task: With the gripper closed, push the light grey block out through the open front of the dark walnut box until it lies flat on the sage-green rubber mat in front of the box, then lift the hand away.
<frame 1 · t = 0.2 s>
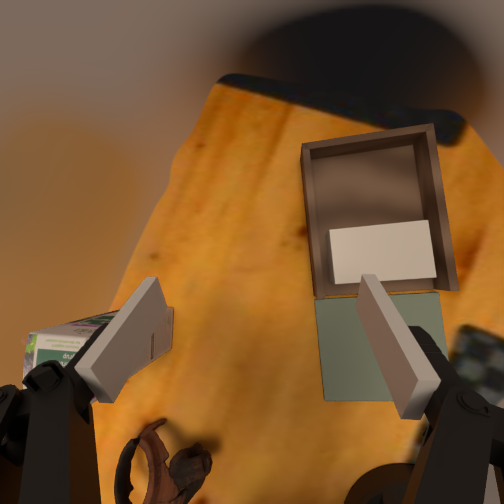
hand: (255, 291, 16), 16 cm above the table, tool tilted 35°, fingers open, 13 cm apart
light grey block: (371, 254, 28), point 1 cm above the table, touching walnut box
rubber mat: (379, 346, 28), on the table
syrup box: (155, 326, 33), on the table
walnut box: (363, 219, 30), on the table
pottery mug: (181, 449, 31), on the table
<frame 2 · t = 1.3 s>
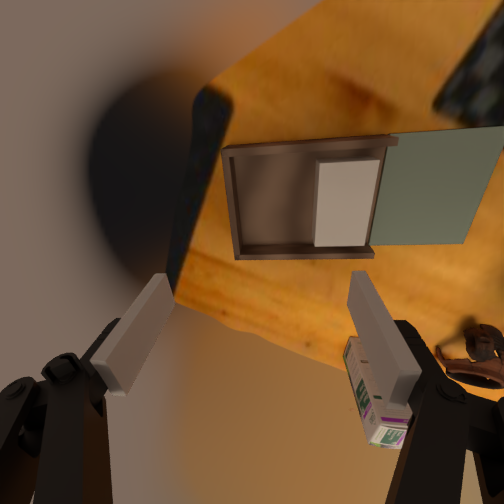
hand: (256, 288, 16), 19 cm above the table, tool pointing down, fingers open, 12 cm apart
light grey block: (338, 199, 30), point 1 cm above the table, touching walnut box
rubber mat: (427, 193, 29), on the table
syrup box: (361, 346, 44), on the table
walnut box: (300, 198, 31), on the table
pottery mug: (464, 337, 41), on the table
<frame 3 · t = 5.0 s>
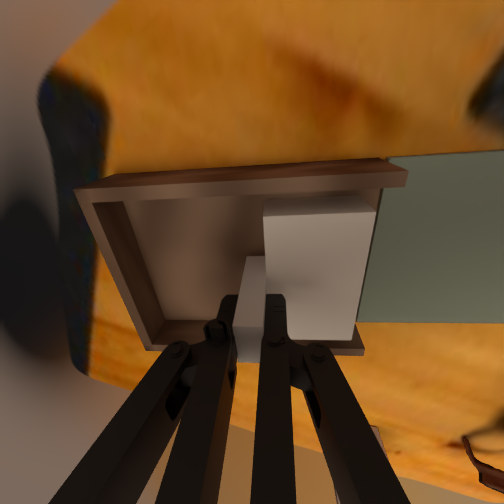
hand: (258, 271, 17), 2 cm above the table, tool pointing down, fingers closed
light grey block: (307, 262, 18), point 1 cm above the table, touching gripper
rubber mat: (451, 250, 18), on the table
walnut box: (246, 255, 19), on the table
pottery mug: (502, 427, 29), on the table
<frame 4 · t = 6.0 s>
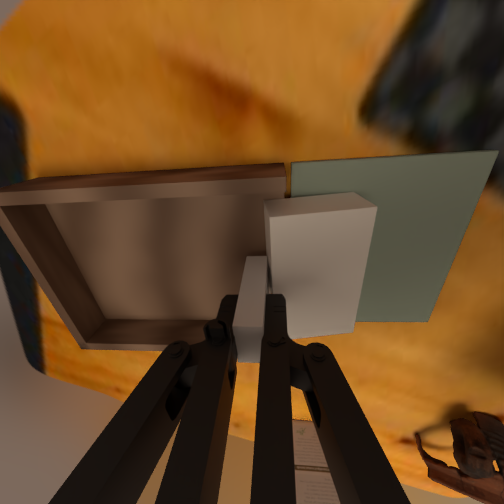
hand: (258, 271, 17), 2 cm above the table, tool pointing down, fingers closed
light grey block: (306, 260, 18), point 1 cm above the table, tilted 9°, touching gripper
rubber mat: (368, 252, 18), on the table
syrup box: (306, 428, 33), on the table
walnut box: (176, 256, 20), on the table
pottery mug: (452, 423, 30), on the table
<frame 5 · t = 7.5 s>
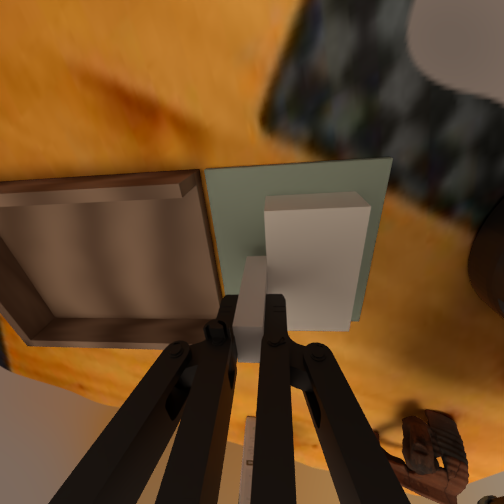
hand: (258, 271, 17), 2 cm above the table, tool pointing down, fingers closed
light grey block: (307, 256, 19), resting on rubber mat
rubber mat: (292, 253, 19), on the table
syrup box: (266, 426, 34), on the table
walnut box: (115, 257, 21), on the table
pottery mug: (408, 421, 31), on the table
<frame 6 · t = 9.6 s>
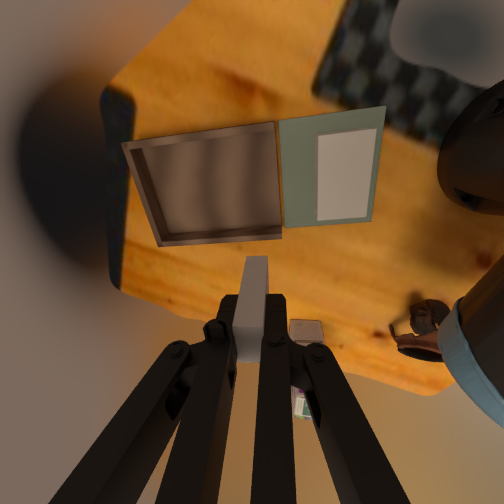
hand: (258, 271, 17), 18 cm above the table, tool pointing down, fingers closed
light grey block: (338, 173, 30), resting on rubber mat
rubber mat: (327, 174, 31), on the table
syrup box: (304, 329, 46), on the table
walnut box: (214, 186, 33), on the table
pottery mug: (415, 314, 42), on the table
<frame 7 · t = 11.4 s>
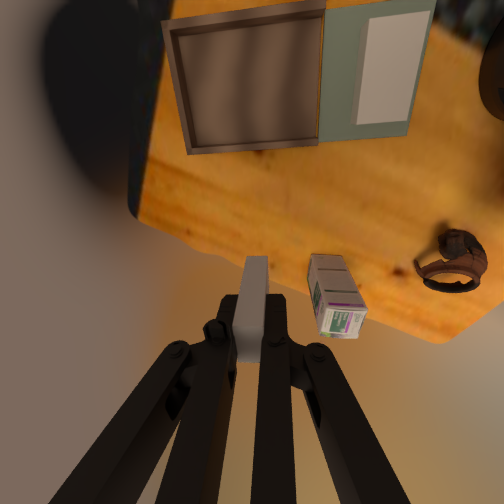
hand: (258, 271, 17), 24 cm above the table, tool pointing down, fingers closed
light grey block: (379, 76, 30), resting on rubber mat
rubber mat: (368, 79, 31), on the table
syrup box: (323, 266, 45), on the table
walnut box: (249, 91, 32), on the table
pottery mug: (440, 248, 42), on the table
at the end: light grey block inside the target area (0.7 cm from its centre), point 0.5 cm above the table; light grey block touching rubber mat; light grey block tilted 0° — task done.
